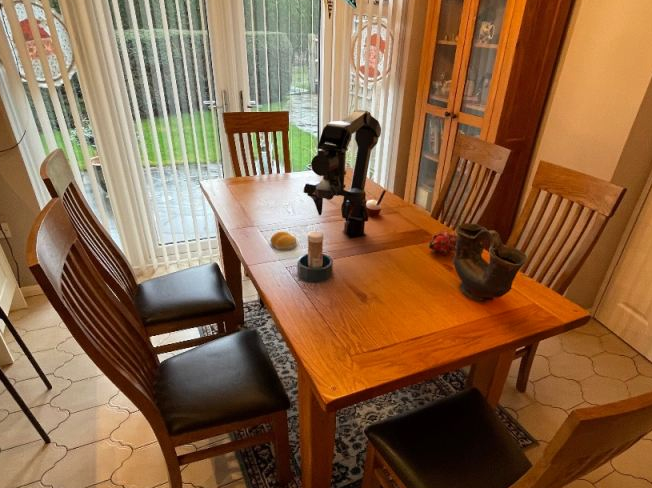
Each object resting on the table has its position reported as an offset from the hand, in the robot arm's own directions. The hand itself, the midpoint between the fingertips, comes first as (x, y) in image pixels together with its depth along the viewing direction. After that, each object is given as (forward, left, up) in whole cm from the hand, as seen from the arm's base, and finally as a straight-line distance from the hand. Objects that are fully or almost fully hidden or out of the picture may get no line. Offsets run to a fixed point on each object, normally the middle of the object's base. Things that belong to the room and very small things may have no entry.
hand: (333, 217), depth 134 cm
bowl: (+10, +10, -13) cm, 19 cm away
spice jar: (+10, +10, -13) cm, 19 cm away
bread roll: (+13, -13, -13) cm, 23 cm away
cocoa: (-29, -27, -13) cm, 42 cm away
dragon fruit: (-36, +11, -13) cm, 40 cm away
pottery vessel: (-31, +36, -13) cm, 50 cm away
